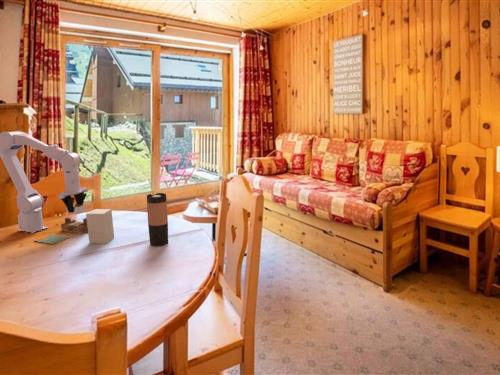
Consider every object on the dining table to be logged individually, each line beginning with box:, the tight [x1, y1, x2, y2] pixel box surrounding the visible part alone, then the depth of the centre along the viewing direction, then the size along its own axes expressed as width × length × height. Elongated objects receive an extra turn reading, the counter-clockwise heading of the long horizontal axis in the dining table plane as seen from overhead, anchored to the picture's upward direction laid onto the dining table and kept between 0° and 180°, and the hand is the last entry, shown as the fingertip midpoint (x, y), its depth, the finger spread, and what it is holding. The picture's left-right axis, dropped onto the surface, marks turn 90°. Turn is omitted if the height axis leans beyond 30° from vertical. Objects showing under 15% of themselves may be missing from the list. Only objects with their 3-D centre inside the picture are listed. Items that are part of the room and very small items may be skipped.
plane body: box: [60, 217, 88, 234], centre depth 154 cm, size 13×5×6 cm, turn 72°
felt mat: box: [36, 234, 70, 245], centre depth 142 cm, size 10×8×1 cm
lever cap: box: [65, 203, 86, 215], centre depth 152 cm, size 6×4×4 cm
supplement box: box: [85, 208, 115, 245], centre depth 141 cm, size 7×7×13 cm
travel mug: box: [146, 192, 169, 247], centre depth 137 cm, size 8×8×20 cm
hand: (75, 210), depth 152 cm, fingers closed on lever cap, 4 cm apart
